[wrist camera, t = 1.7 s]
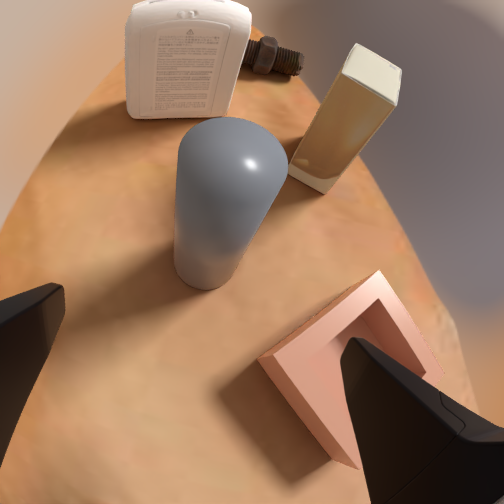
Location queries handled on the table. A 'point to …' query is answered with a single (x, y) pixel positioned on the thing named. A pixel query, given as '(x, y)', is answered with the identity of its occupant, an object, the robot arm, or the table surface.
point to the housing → (329, 353)
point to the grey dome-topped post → (222, 196)
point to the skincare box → (346, 118)
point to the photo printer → (183, 57)
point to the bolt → (272, 57)
